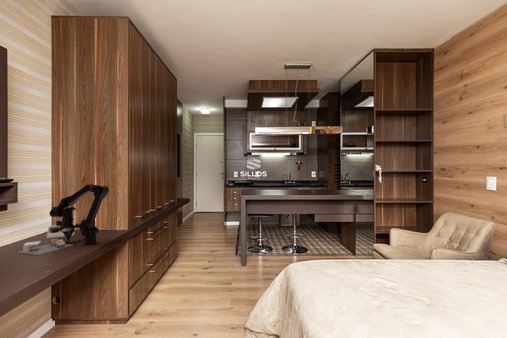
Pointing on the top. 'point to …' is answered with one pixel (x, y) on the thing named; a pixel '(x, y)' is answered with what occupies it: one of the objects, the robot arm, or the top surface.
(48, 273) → the top surface
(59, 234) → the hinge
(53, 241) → the link
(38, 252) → the pintle base
